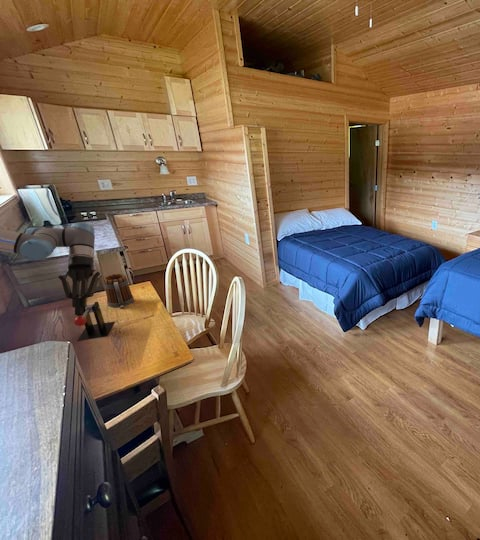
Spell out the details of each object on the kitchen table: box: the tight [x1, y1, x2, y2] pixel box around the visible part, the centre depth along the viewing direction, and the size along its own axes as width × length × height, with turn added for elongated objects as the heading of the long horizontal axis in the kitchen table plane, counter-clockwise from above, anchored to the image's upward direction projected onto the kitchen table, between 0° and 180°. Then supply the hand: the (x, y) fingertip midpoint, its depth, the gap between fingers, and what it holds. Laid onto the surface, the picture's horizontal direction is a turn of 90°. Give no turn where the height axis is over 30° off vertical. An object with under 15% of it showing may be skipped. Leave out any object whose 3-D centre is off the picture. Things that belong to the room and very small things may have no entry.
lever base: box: [76, 301, 116, 342], centre depth 125 cm, size 12×10×14 cm
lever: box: [73, 303, 94, 327], centre depth 119 cm, size 14×4×4 cm, turn 25°
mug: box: [103, 273, 135, 310], centre depth 146 cm, size 16×11×15 cm
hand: (78, 314), depth 114 cm, fingers closed
